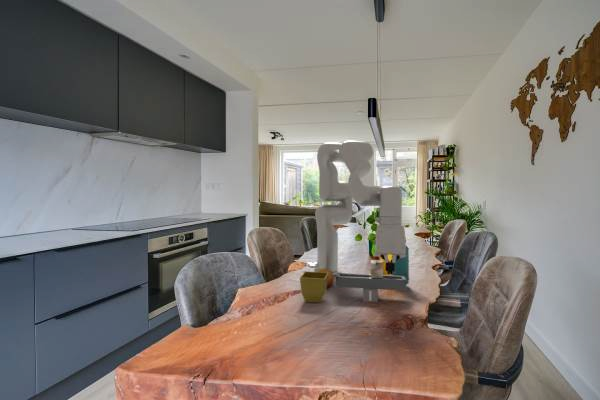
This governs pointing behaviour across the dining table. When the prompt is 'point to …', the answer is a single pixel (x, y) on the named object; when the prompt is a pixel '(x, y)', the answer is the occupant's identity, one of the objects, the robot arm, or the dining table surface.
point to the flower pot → (313, 286)
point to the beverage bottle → (402, 266)
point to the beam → (370, 284)
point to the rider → (376, 269)
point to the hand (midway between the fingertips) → (389, 273)
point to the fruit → (330, 276)
